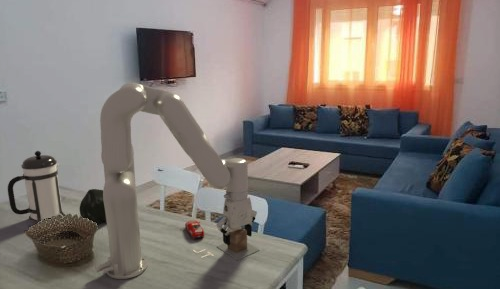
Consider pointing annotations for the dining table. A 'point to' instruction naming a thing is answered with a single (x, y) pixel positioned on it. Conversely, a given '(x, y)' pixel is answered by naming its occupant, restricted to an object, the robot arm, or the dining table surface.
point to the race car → (194, 229)
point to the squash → (93, 206)
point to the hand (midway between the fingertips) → (237, 239)
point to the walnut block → (238, 240)
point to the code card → (204, 255)
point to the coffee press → (39, 188)
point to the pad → (238, 255)
